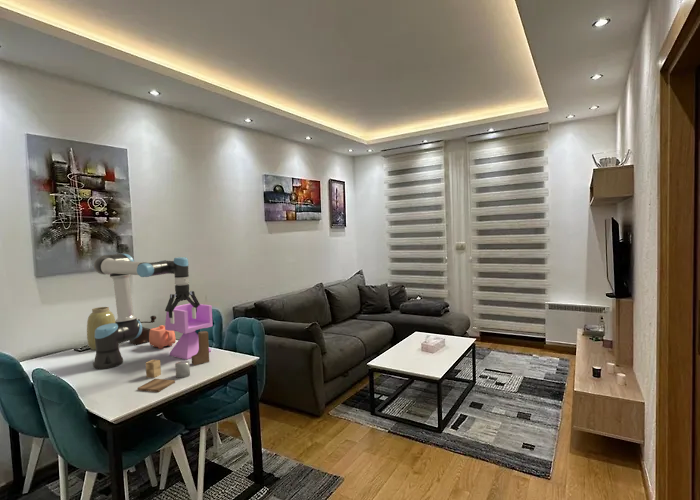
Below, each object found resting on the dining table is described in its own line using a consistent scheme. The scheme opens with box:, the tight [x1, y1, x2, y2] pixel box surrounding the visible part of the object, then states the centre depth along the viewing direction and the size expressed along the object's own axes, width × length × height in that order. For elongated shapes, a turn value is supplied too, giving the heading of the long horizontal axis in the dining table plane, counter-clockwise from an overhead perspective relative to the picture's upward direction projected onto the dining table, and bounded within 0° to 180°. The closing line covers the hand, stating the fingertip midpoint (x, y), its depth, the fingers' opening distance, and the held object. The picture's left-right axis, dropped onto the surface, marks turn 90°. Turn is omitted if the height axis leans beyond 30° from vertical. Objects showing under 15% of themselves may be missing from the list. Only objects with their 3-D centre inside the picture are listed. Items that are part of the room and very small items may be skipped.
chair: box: [164, 303, 214, 361], centre depth 249 cm, size 20×20×30 cm
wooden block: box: [191, 330, 210, 366], centre depth 232 cm, size 9×4×18 cm, turn 130°
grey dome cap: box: [174, 360, 191, 379], centre depth 212 cm, size 7×7×7 cm
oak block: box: [145, 359, 162, 379], centre depth 213 cm, size 5×5×8 cm
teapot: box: [148, 324, 177, 350], centre depth 268 cm, size 22×13×14 cm, turn 56°
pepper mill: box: [128, 315, 157, 346], centre depth 279 cm, size 16×11×18 cm
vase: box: [86, 306, 116, 351], centre depth 267 cm, size 17×17×27 cm
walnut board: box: [137, 378, 176, 393], centre depth 199 cm, size 12×12×1 cm
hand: (183, 320), depth 227 cm, fingers open, 13 cm apart
